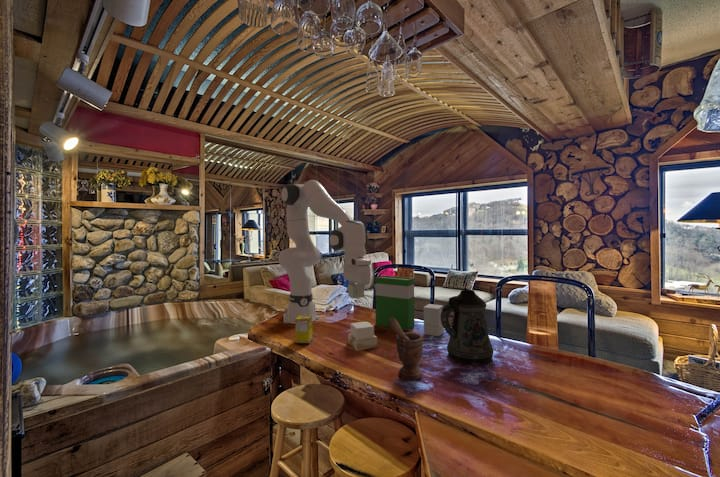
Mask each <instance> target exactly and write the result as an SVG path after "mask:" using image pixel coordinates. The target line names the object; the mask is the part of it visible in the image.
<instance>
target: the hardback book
mask: <svg viewBox="0 0 720 477" xmlns="http://www.w3.org/2000/svg"><path fill="white" fill-rule="evenodd" d="M392 317H393V318H395V319H396V320H397V321H398V323H399V325H400V327H401V329H402V330H406V331H409V330H411V329H413V327H415V278H414V277H407V276H405V277H404V276H394V275H384V274H383V275H381V276H376V277H375V325H376V326H382V327H388V328H391V327H390V325H389V323H388V320H389V319H390V318H392Z"/></svg>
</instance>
